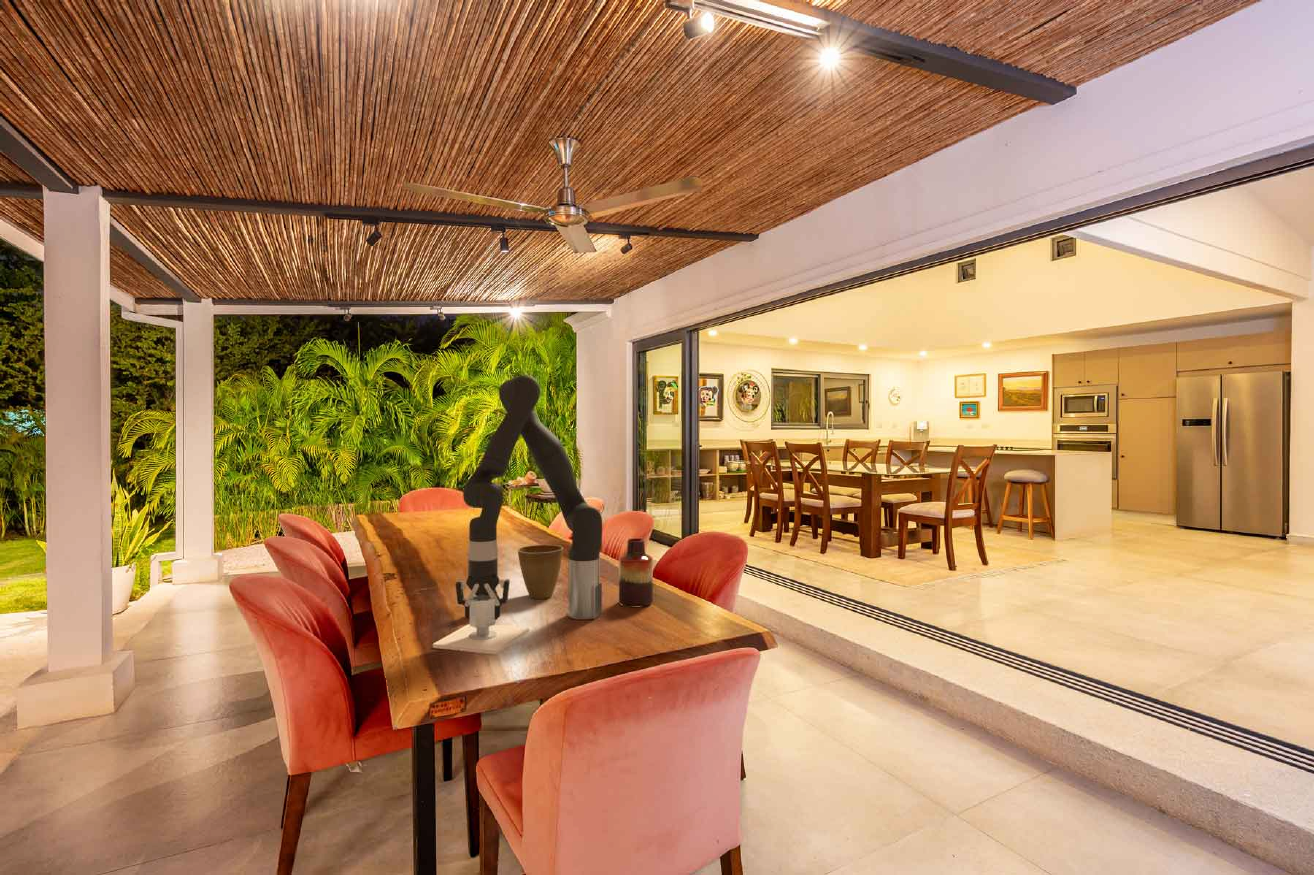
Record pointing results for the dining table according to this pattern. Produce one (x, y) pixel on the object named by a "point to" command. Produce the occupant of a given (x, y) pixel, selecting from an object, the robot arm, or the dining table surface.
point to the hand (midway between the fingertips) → (482, 619)
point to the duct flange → (481, 639)
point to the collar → (482, 611)
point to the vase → (635, 575)
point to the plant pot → (540, 568)
